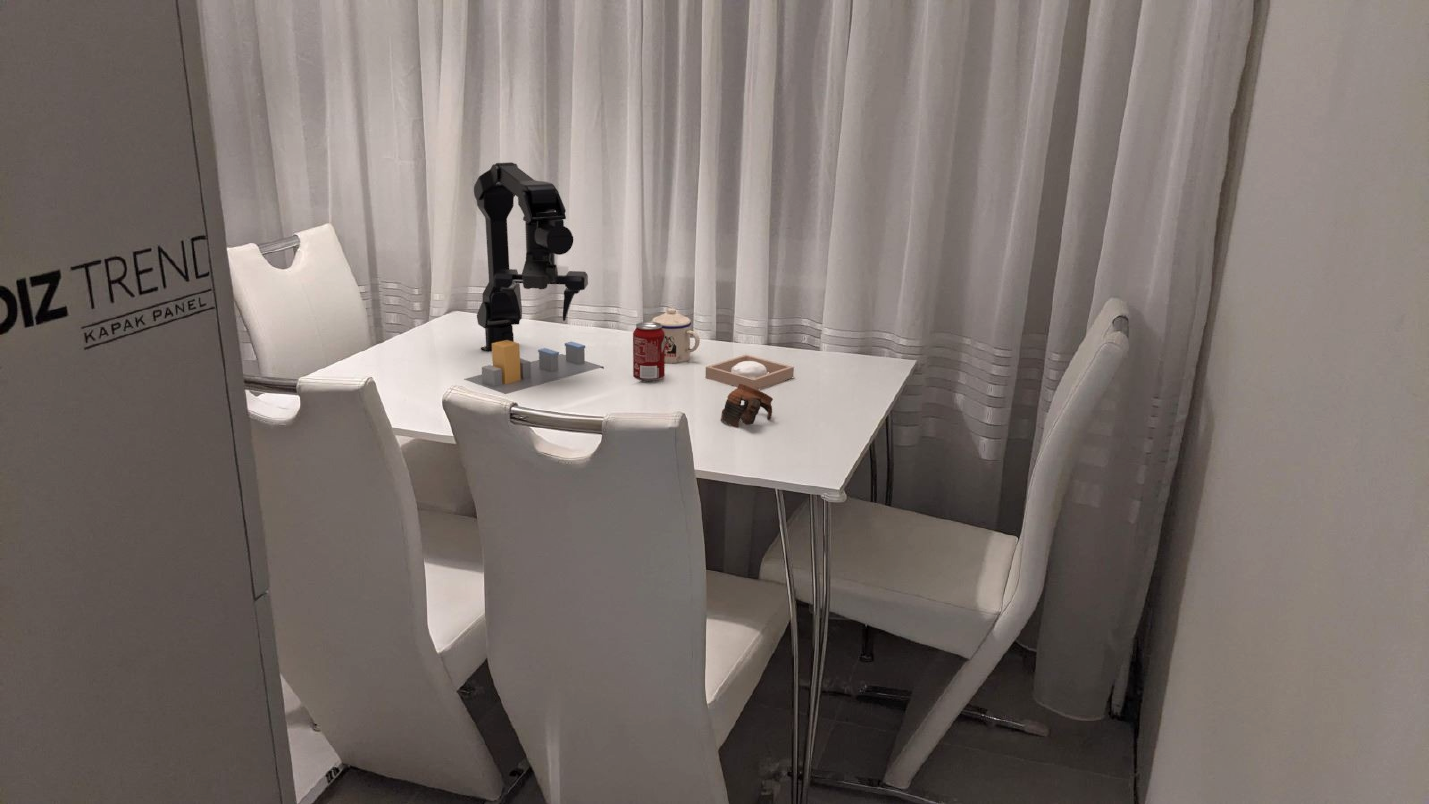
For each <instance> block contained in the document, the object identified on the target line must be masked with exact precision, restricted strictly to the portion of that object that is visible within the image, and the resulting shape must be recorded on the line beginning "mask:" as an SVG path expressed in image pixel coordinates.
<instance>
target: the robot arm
mask: <svg viewBox="0 0 1429 804" xmlns="http://www.w3.org/2000/svg"><path fill="white" fill-rule="evenodd" d="M473 194H474V195H473V196H474V198H475V199H476V206H477V207H478V209H479V211H480V212H481V214H482V215H483V217H484V218H485V219H484V220H485V233H486V234H485V235H486V238H485V239H486V250H487V252H486V253H487V254H486V255H487V270H488V271H487V272H488V283H487V284H486V286H485V288H484V290H483V292H482V301H481V304H480V306H479V309H478V311H477V314H476V320H477V325H479V326H480V327H482V328H483V329H484V330H485V333H484V334H485V346H482V347H480V350H481V351H485V352H487V353H490V352H492V343H496V342H500V341H504V340H509V341H513V342H515V341H514V328H513V327H514V326H515V325H516V326H518V325H520V321H521V320H522V318H523V305H522V297H521V296H522V295H521V284H522V286H523V288H524V289H526V290H530V289H538V290H545V289H547V288H548V285H564V286H565V289H564V291H563V307H562V308H563V309H562V321H563V322H566V320H567V317H568V313H569V310H570V307H571V303H572V301H573V299H574V296H575V295H577V294H579V293H580V291H583V290H585V289H586V288H587V286H588V285H589V277H588V275H589V274H588V273H587V272H586V271H577V270H576V271H575V270H571V271H570V270H568V272H567V273H566V274H565V275H561V274H559V273H558V272H559V271H558V267H557V264H555V259H556V258H555V255H558V256H559V255H560V256H561V255H564V254H566V253H568V252H569V251H570V250H571V249H572V247H573V244H574V236H573V232H572V231H571V230H570V229H569V228H568V227H567V226H564V225H565V221H564V220H566V219H567V216H566V211H567V210H566V208H565V205H564V203H563V199H562V197H561V195H560V192H559V190H558V189H557V188H556V185H554V184H553V183H551V182H548V181H542V180H536V179H534V178H532V177H531V176H530V175H528V174H527V173H526V172H525V171H523V170H522V169H521V168H519V166H518V164H517V163H514V162H496V163H495V164H492V165H491V167H490V169H488V170H487V171H485V172H484V173H482V174H480V175H479V176H478V178H477V180H476V181H475V184H474V186H473ZM515 197H517V202H518V203H517V204H518V206H519V208H520V210H521V212H522V214H523V217H522V220H523V221H524V222H525V224H524V225H525V226H524V227H525V251H526V253H525V261H524V265H523V268H522V273H518V269H516V268H515V269H511V268H510V253H509V236H508V235H509V234H508V217H509V215H510V213H511V211H512V210H513V208H514V204H515V203H514V202H515V201H514V199H515Z"/></svg>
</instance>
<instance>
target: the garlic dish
mask: <svg viewBox="0 0 1429 804" xmlns="http://www.w3.org/2000/svg"><path fill="white" fill-rule="evenodd" d="M743 361H755V362H758V363H760V364H762V365H764V366H765V367H766V370H767V373H766V375H763V376H760V377H757V378H754V379H753V378H749V377H746V376H742V375H739V374H735V373H731V369H732V367H734V366H735V365H737V364H738V363H740V362H743ZM794 368H795V366H792V365H789V364H784V363H780V362H776V361H772V360H769V359H764V358H761V357H757V356H753V355H750V354H742V355H740V356H736V357H734V358H730V359H727V360H724V361H723V360H722V361H720V362H717V363H714V364H711V365H708V366H705V379H708V380H712V381H715V382H718V383H723V384H726V385H729V386H732V385H733V386H732V387H737V388H738V386H739V384H744V385H747V386H750V387H752V388H755V389H757V390H759V389H760V390H763V389H765V387H766V388H768V386H769V387H771V386H770V385H772V386H773V385H774V386H775V385H778V384H781V383H783V382H786V381H788V380H787V379H789V380H791V379H790V378H792V377H793V378H794V373H795V371H794ZM768 372H769V373H768ZM793 378H792V379H793ZM785 380H786V381H785ZM762 388H763V389H762ZM760 390H759V391H760Z"/></svg>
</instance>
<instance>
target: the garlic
mask: <svg viewBox="0 0 1429 804" xmlns="http://www.w3.org/2000/svg"><path fill="white" fill-rule="evenodd" d="M731 373H735V374H739V375H742V376H746V377H749V378H753V379H754V378H757V377H760V376H763V375H766V374H768V372H767V370H766V367H765V366H764V365H762V364H760V363H758V362H755V361H743V362H740V363H738V364H737V365H735V366H734V367H732V369H731Z"/></svg>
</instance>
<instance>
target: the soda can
mask: <svg viewBox="0 0 1429 804" xmlns="http://www.w3.org/2000/svg"><path fill="white" fill-rule="evenodd" d="M661 327H662V325H661V324H660V323H657V322H652V321H641V322H638V323H636V325H635V329H634V330H633V332H632V376H633V378H634V379H636V380H639V381H641V382H643V383H654V382H659V381H661V379H663V378H664V377H665V376H666V375H665V371H666V370H665V367H666V366H665V364H666V363H665V333H664V331H663V329H662V328H661Z"/></svg>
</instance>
